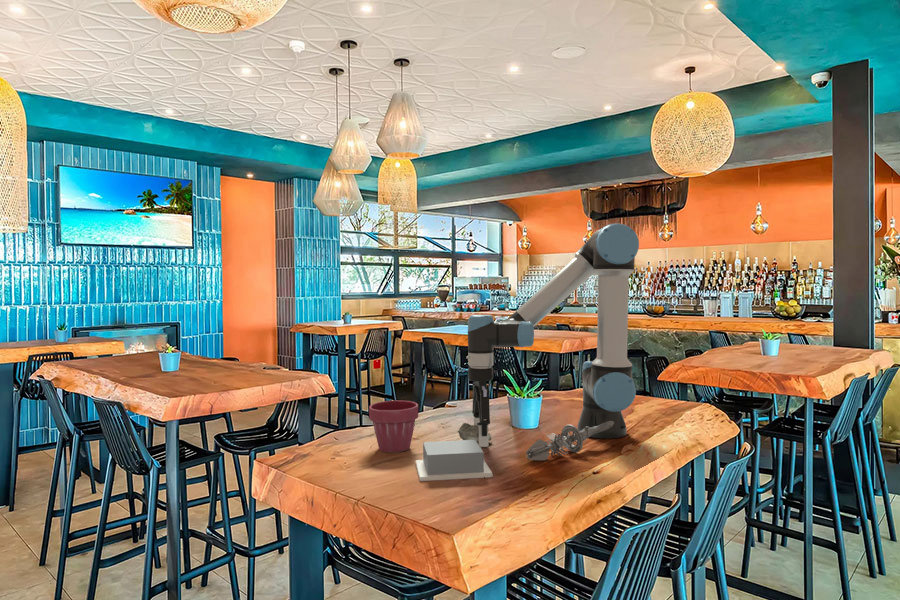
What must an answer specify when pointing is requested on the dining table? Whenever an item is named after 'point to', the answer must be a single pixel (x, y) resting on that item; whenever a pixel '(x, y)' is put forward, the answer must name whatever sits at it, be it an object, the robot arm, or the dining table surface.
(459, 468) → the plinth
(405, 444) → the plant pot
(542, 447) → the spaceship
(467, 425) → the rock sample
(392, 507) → the dining table surface
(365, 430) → the dining table surface
